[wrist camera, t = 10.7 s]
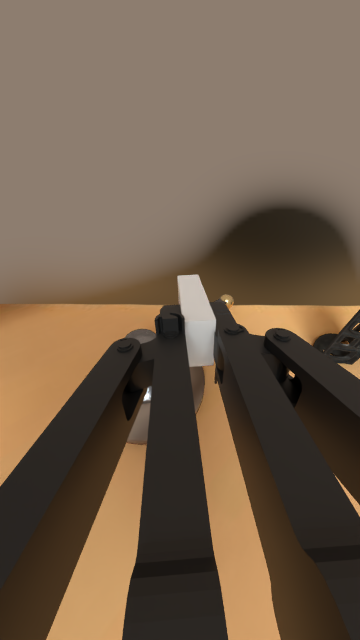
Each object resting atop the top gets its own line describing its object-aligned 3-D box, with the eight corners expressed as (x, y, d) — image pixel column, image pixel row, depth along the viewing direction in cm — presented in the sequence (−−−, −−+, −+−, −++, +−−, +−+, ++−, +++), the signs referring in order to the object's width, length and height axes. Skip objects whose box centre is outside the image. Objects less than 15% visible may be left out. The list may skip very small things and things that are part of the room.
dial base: (66, 402, 34) (57, 391, 32) (140, 330, 47) (137, 317, 45) (165, 475, 27) (163, 467, 24) (220, 365, 40) (223, 352, 37)
